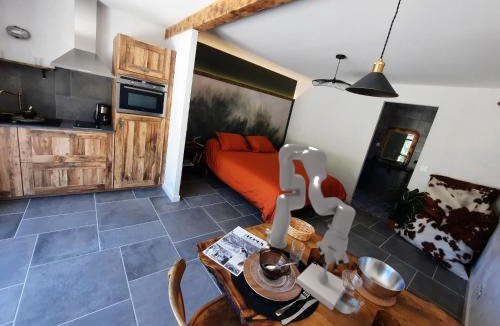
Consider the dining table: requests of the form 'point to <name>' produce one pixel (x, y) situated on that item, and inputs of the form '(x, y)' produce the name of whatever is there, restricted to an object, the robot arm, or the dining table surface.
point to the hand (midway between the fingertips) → (327, 265)
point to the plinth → (321, 285)
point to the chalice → (327, 265)
